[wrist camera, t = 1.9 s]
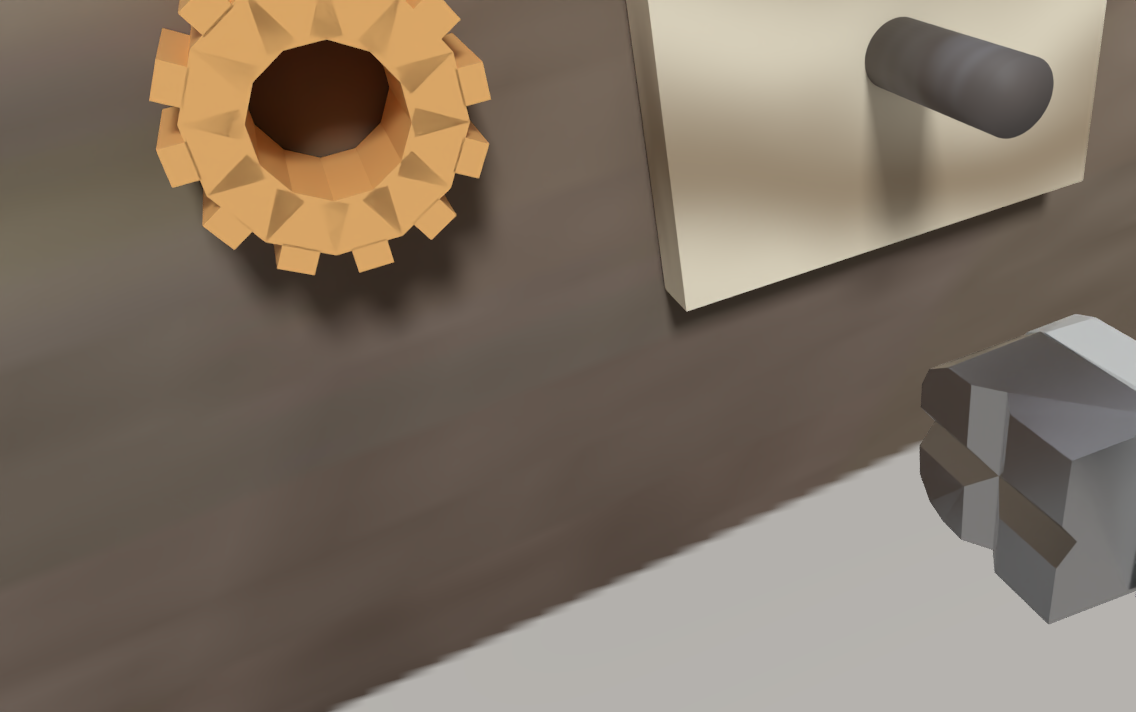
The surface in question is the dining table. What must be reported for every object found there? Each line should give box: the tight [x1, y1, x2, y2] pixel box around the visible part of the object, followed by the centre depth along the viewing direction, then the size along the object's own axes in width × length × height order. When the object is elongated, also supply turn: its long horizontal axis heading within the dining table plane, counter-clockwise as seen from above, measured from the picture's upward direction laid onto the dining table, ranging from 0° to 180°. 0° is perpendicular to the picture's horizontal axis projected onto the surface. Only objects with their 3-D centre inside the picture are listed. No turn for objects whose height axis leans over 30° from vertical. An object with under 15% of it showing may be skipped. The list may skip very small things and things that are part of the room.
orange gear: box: [149, 0, 491, 275], centre depth 21 cm, size 7×7×3 cm
